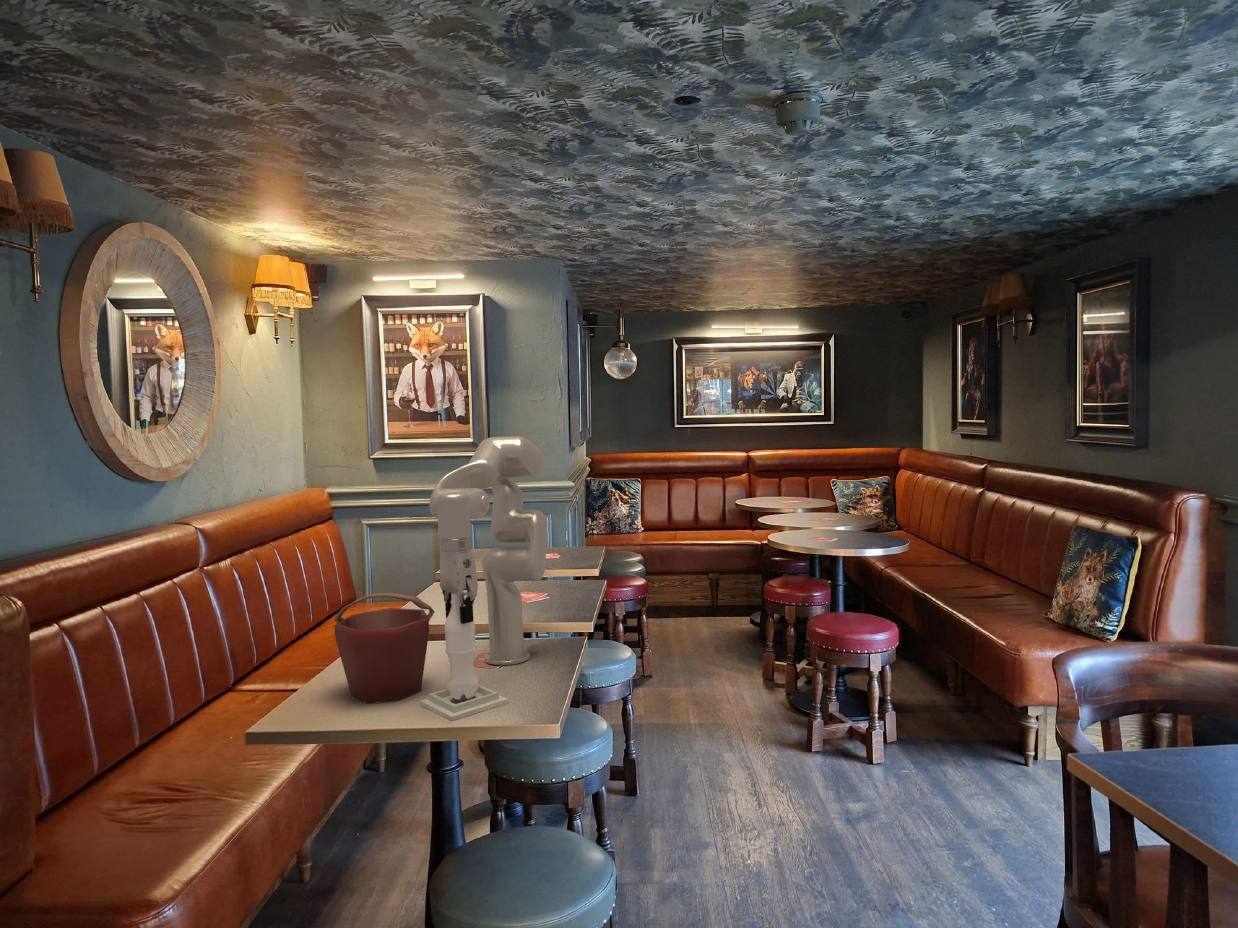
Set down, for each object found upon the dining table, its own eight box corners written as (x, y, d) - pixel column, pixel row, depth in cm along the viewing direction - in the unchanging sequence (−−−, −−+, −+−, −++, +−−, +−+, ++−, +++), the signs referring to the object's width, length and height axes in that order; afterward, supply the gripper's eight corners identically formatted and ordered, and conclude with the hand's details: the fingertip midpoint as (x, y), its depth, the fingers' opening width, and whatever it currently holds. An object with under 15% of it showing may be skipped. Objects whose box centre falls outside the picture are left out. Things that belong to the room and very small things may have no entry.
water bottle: (447, 702, 184) (441, 596, 183) (449, 692, 192) (443, 590, 190) (478, 699, 186) (472, 594, 184) (479, 689, 193) (473, 588, 191)
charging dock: (474, 688, 199) (474, 678, 199) (507, 702, 188) (507, 692, 188) (420, 704, 189) (419, 694, 189) (451, 720, 178) (451, 710, 178)
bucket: (452, 680, 206) (447, 585, 204) (404, 711, 185) (398, 606, 183) (371, 675, 213) (366, 583, 212) (317, 704, 192) (310, 602, 191)
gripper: (489, 546, 182) (493, 623, 183) (451, 539, 195) (455, 611, 196) (460, 550, 177) (464, 630, 178) (423, 543, 190) (427, 617, 191)
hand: (459, 619), depth 187 cm, fingers closed on water bottle, 5 cm apart
